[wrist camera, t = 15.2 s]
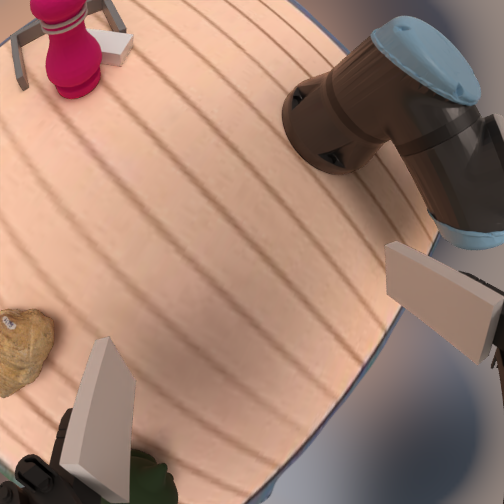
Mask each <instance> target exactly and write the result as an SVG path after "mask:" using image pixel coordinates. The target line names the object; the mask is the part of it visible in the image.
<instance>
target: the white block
mask: <svg viewBox="0 0 504 504" xmlns="http://www.w3.org/2000/svg"><path fill="white" fill-rule="evenodd" d="M86 30H87V31H88V32H89V33H90V34H91V35H92V36H93V37H94V38H95V39H96V40H97V41H98V43H99V45H100V47H101V51H102V60H101V63H102V64H108V65H114V66H119V67H121V66H122V64H123V62H124V61H125V59H126V57H127V56H128V54H129V52H130V51H131V49H132V47H133V35H132V34H126V33H119V32H112V31H104V30H96V29H86Z"/></svg>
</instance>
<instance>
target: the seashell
mask: <svg viewBox="0 0 504 504" xmlns="http://www.w3.org/2000/svg"><path fill="white" fill-rule="evenodd" d="M53 344H54V324H53V320H52V319H51V318H49V317H45V316H44V315H43V314H42V313H41V312H40V311H39V310H36V309H29V310H27V311H25V312H21V311H20V310H18V309H16V310H11V309H7V310H1V311H0V397H2V398H6V397H9V396H10V395H12V394H13V393H14V392H16V391H18V390H20V388H22V387H24V386H25V385H26V384H29V383H32V382H34V381H35V379H36V378H37V377H38V376H39V374H40V372H41V368H42V366H43V361H44V360H45V359H46V358H47V355H48V354H49V352H50V350H51V348H52V347H53Z"/></svg>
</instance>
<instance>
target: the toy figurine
mask: <svg viewBox="0 0 504 504" xmlns="http://www.w3.org/2000/svg"><path fill="white" fill-rule="evenodd" d="M173 480H174V478H173V476H172V474H170V473H168V472H167V465H166V464H165V463H161V464H157V463H156V460H155V459H154V458H153V457H152V456H151V455H149V454H147V453H144V452H142V451H139V450H131V451H130V482H129V503H110V502H108V501H107V500H105V499H104V498H103V497H101V504H178V492H177V489H176V486H175V483H174V481H173Z"/></svg>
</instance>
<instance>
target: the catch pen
mask: <svg viewBox="0 0 504 504" xmlns="http://www.w3.org/2000/svg"><path fill="white" fill-rule="evenodd" d="M86 2H87V9H88V12H87V15H89V14H92V13H94V12H97V11H100V10H103V12H104V14H105V16H106V18H107V20H108V22H109V24H110V26H111V28H112V30H113V32H119V33H126V27H125V25H124V23H123V21H122V19H121V17H120V16H119V14H118V12H117V10H116V8H115V6H114V5H113V3H112V1H111V0H86ZM44 34H46V33H44V32H43V31H42V29H41V25H40V20H38V21H36V22H34V23H32V24H30V25H28V26H26V27H24V28H23V29H21V30H19V31H17V32H15V33H14V34H12V35H10V38H11V47H12V54H13V61H14V68H15V74H16V79H17V81H18V83H19V85H20V87H21V88H22V90H23V91H24V90H25V89H27V88H29V85H28V81H27V76H26V71H25V66H24V61H23V56H22V50H21V47H22V46H24V45H25V44H27V43H29V42H31V41H33V40H34V39H36V38H38V37H40V36H42V35H44Z"/></svg>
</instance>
